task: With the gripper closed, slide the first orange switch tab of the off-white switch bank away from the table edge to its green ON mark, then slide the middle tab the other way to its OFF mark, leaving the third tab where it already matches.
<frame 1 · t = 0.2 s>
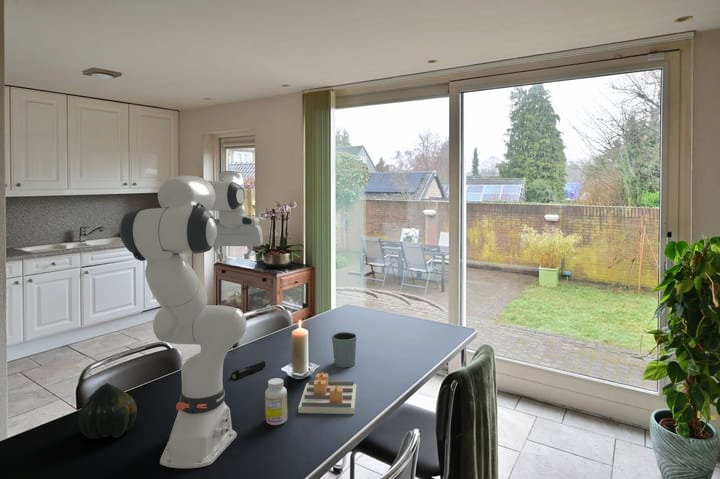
hand: (233, 258, 157), 48 cm above the table, tool pointing down, fingers open, 8 cm apart
squash: (108, 433, 134), on the table
supplement bottle: (276, 421, 141), on the table
green cup: (344, 364, 187), on the table
tab1: (336, 394, 149), point 5 cm above the table, slide at -3.0 cm
switch bank: (329, 400, 155), on the table
tab2: (320, 387, 154), point 5 cm above the table, slide at 3.0 cm
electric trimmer: (248, 374, 178), on the table
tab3: (322, 380, 160), point 5 cm above the table, slide at 3.0 cm
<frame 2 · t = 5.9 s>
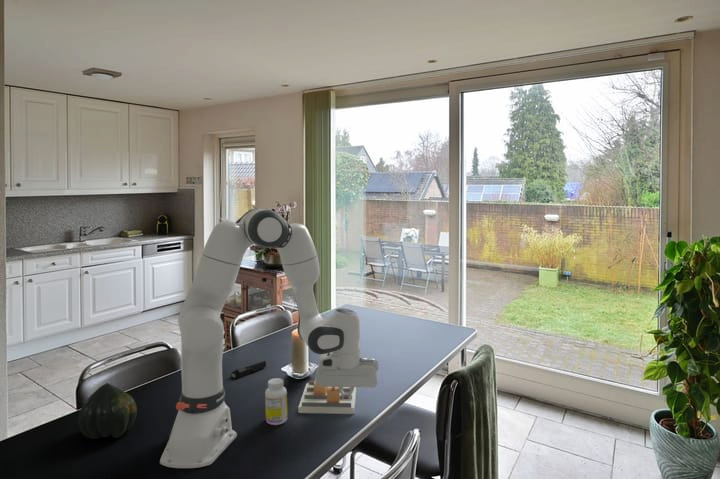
hand: (346, 398, 149), 3 cm above the table, tool pointing down, fingers closed
tab1: (333, 394, 149), point 5 cm above the table, slide at -2.0 cm, touching gripper
everything else where it was.
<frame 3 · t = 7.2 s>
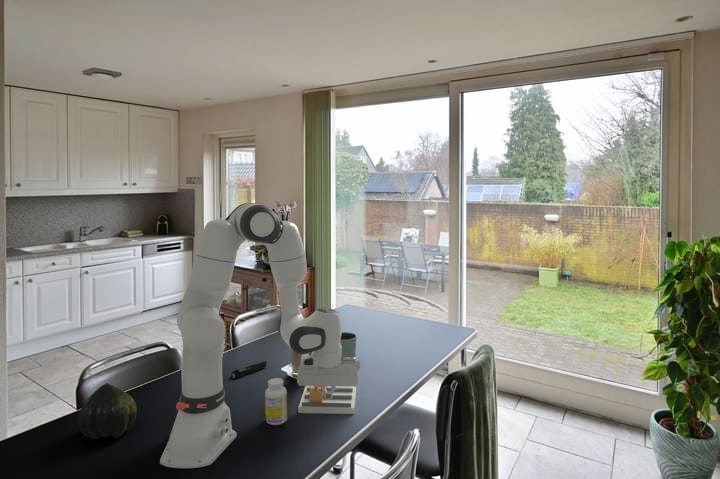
hand: (328, 397, 149), 4 cm above the table, tool pointing down, fingers closed
tab1: (316, 394, 149), point 5 cm above the table, slide at 3.6 cm, touching gripper
everything else where it was.
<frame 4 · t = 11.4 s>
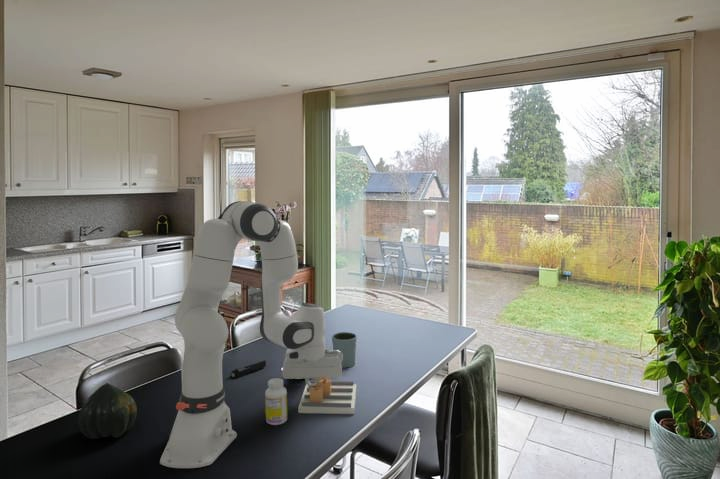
hand: (312, 389, 155), 4 cm above the table, tool pointing down, fingers closed
tab1: (316, 394, 149), point 5 cm above the table, slide at 3.6 cm
tab2: (324, 387, 154), point 5 cm above the table, slide at 1.4 cm, touching gripper
everything else where it was.
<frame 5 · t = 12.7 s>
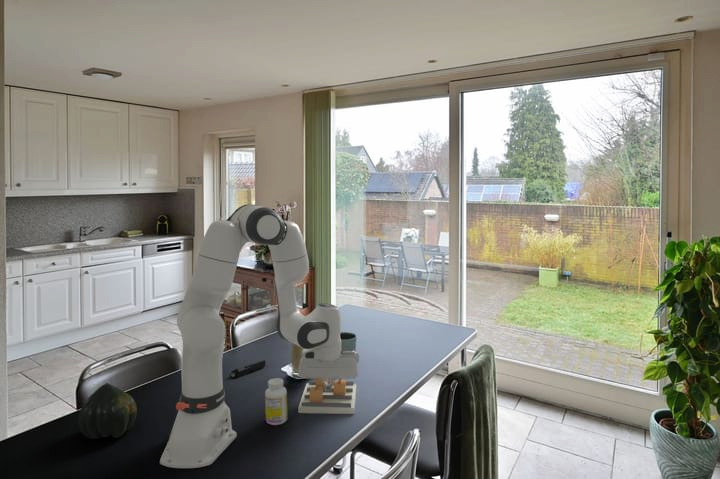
hand: (328, 389, 155), 4 cm above the table, tool pointing down, fingers closed
tab2: (339, 387, 154), point 5 cm above the table, slide at -3.7 cm, touching gripper
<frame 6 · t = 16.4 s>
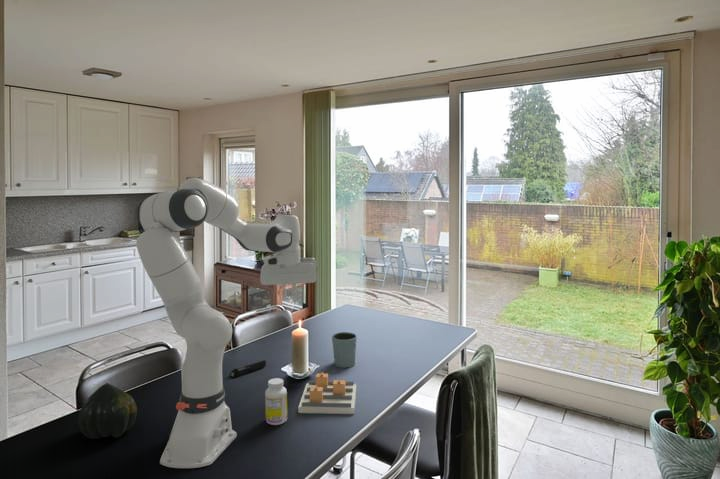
hand: (288, 295, 166), 33 cm above the table, tool pointing down, fingers closed
tab2: (339, 387, 154), point 5 cm above the table, slide at -3.6 cm
at the end: tab1 slide at 3.6 cm; tab2 slide at -3.6 cm; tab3 slide at 3.0 cm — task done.
